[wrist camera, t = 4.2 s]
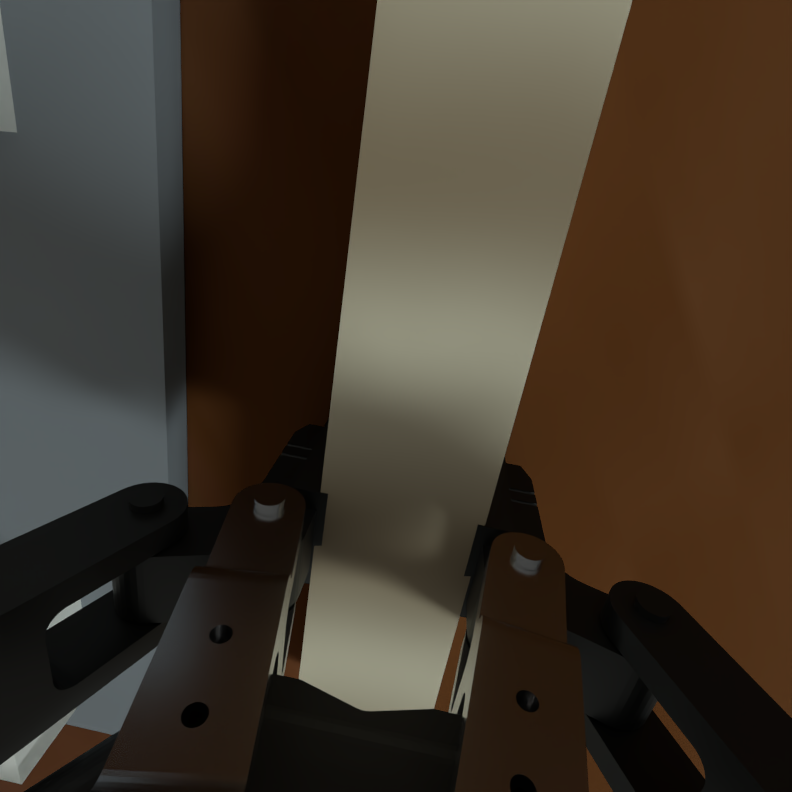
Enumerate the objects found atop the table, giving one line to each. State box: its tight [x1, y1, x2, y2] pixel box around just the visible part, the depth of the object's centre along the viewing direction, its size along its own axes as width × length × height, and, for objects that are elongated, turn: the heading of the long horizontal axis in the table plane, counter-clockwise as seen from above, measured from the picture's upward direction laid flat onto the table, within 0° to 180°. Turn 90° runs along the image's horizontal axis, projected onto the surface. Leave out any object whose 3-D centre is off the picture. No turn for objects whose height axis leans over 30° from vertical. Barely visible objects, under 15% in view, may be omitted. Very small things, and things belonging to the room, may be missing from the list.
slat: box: [299, 0, 632, 711], centre depth 11 cm, size 18×3×4 cm, turn 171°
